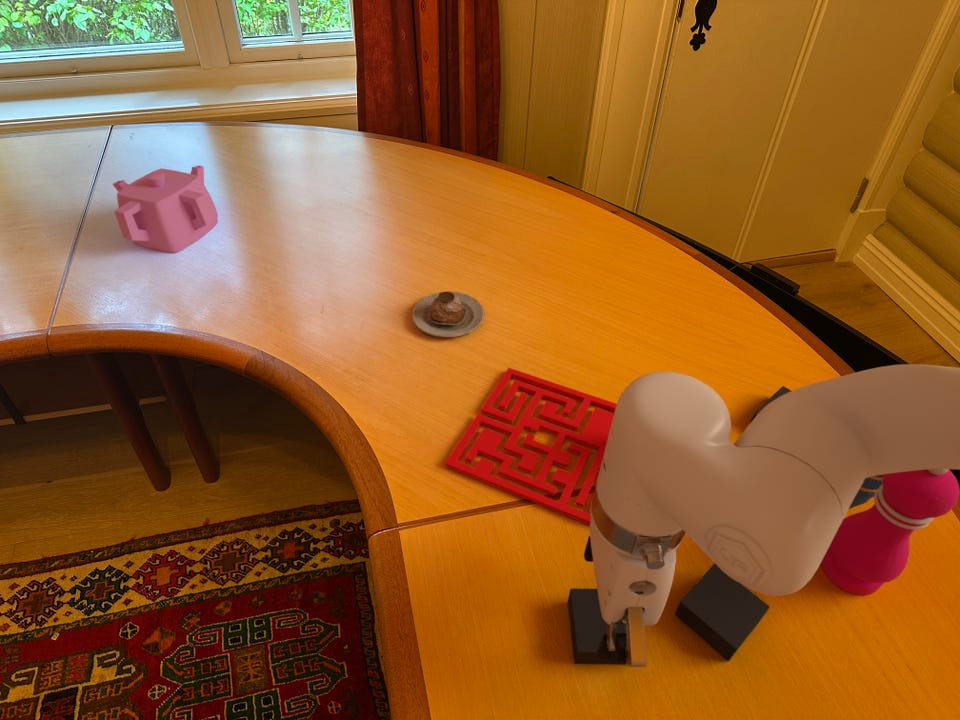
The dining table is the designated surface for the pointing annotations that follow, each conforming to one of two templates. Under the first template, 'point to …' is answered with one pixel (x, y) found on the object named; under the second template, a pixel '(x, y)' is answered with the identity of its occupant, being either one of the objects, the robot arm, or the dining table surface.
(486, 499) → the dining table surface
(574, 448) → the maze puzzle
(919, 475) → the pepper mill
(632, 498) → the robot arm
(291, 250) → the dining table surface
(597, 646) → the pad
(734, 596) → the pad
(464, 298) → the pastry
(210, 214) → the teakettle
